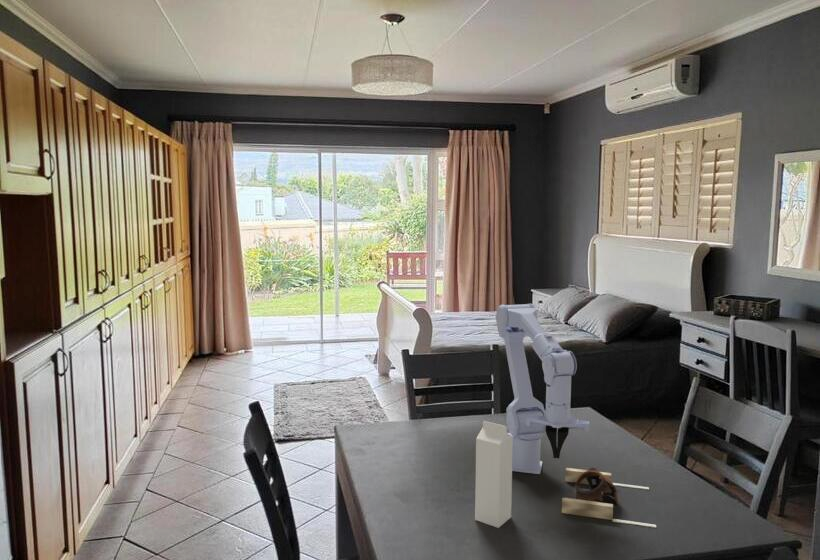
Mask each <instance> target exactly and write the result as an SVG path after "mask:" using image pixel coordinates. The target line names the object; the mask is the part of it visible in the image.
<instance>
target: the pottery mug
mask: <svg viewBox="0 0 820 560" xmlns="http://www.w3.org/2000/svg"><path fill="white" fill-rule="evenodd" d="M600 472H601V471H598V470H597V469H596V468H595V467H591V468H590V467H589V468H588V471H586V472H583V473H582V474H580V475H579V476H578V477H577V478H576V480H575V483H574V484H575V488H574V499H579V500H586V501H593V502H596V501H599V502H603V501H604V500H603V496H607V497H611V498H613V499H614V500H615V505H616V506H618V505H619V498H618V493H617V490H616V486H615V485H613V483H614V482H613V481H612V479H611V480H610V479H609V478H607V477H606V476H604V475H602V473H600ZM599 477H600V478H599ZM585 478H586V480H587V481H588V483H589V484H588V486H589V488H590V490H584V489H581V488H580V487H579V485H580V484H581V483H580V482H581V481H582V480H583V479H585Z"/></svg>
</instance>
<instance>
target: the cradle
mask: <svg viewBox="0 0 820 560" xmlns="http://www.w3.org/2000/svg"><path fill="white" fill-rule="evenodd" d="M588 470H589V469H588ZM588 470H587V469H579V468H571V467H566V468H565V478H564V479H565V481H564V482H567V483H568V482H569V483H574V482H575V480H576V478H577V477H578V476H579V475H580V474H582V473H583V472H586V471H588ZM599 472H600V473H602V475H604V476H606V477H607V478H609V479H610V480H611V481H612V473H611V472H607V471H606V472H603V471H599ZM599 478H600V477H599ZM579 484H583V485H589V483H588V481H587V480H586V478H585V479H583V480H582V481H581V482H580V483H579ZM561 499H562V500H561V513H562V514H565V515H566V514H567V515H568V514H569V515H575V516H582V517H590V518H596V519H603V520H611V521H613V519H614V518H613V515H614V504H613V503H607V502H602V501H586V500H579V499H576V498H570V497H562V498H561Z"/></svg>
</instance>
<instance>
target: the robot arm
mask: <svg viewBox="0 0 820 560" xmlns="http://www.w3.org/2000/svg"><path fill="white" fill-rule="evenodd" d="M495 321H496V327H497V331H498V336H499V337H500V338H502V339H503V340H504V341H503V342H504V347H505V352H506V358H507V363H508V370H509V375H510V376H509V377H510V380H511V381H510V382H511V386H512V391H513V396H514V398H513V400H512V402H511V403H509V404H508V406H507V407H506V427H507V433H508V434H509V435H511V436H513V452H512V472H518V473H526V474H533V475H541V471H542V467H543V464H544V463H543V461H542V460H541V439H542V437H544V434H546V436H547V439H548V441H549V443H550V447H551V449H552V456H553V459H560V456H561V455H560V454H561V451H562V447H563V445H564V443H565V441H566V439H567V437H568V435H569V431H570V430H575V431H583V432H588V433H589V432H590V421H587V420H583V419H576V418H572V417H571V401H572V400H571V397H572V395H571V394H572V376H575V374H576V373H577V372H576V371H577V368H578V365H577V363H578V362H577V358H576V356H575V354H574V353H573V351H571V350H567V349H563V348H562V346H561V345H560V344H559V342H558V341H557V340H556V339H555V337H554V336H553V335H552V334H551V333H549V332H545V331H544V330H543V327H542V326H541V324H540V323H539V321H538V311H537V308H536V307H535V305H533V304H532V303H525V304H523V303H522V304H500V305H499V306H498V308H497V309H496V314H495ZM527 336H528V337H529V338H530V339H531V340H532V343H531V346H532V349H533V351H534V352H535V354H536V355H537V356H538V357H539V359H540V360H541V366H542V371H543V375H544V376H543V381H544V383H545V384H546V387H545V388H546V389H545V390H546V391H545V408H544V404H543V402H541V401H539V400H538V399H537V398H536V397H534V396H533V395H534V394H533V389H532V383H531V379H530V372H529V367H528V362H527V357H526V351H525V346H524V338H526V337H527Z"/></svg>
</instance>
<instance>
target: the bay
mask: <svg viewBox="0 0 820 560" xmlns="http://www.w3.org/2000/svg"><path fill="white" fill-rule="evenodd" d="M612 483H613V485H614V487H616V486H617V487H623V488H633V489H640V490H648V491H649V490H650V488H649V486H642V485H635V484H634V485H633V484H625V483H618V482H612ZM612 522H614V523H621V524H627V525H633V526H640V527H641V526H642V527H647V528H657V525H656V524H653V523H645V522H639V521H632V520H626V519H617V518H613V520H612Z"/></svg>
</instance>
